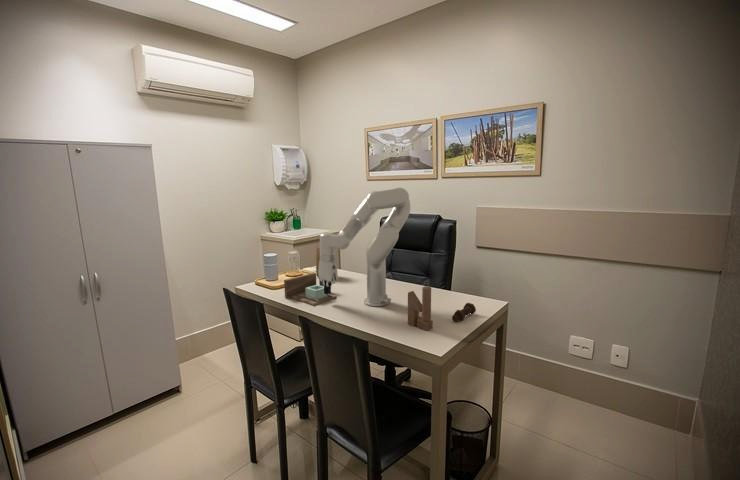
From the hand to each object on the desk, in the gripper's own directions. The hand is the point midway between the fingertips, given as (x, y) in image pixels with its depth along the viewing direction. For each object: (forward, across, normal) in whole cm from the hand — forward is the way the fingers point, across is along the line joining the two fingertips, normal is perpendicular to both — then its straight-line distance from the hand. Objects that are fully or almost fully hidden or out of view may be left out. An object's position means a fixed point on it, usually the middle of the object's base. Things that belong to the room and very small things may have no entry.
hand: (327, 293), depth 181 cm
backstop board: (+5, +14, -1) cm, 15 cm away
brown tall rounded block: (+6, +39, -33) cm, 51 cm away
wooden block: (+4, -53, -6) cm, 53 cm away
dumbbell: (+4, -62, -26) cm, 67 cm away
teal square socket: (+4, +9, -1) cm, 10 cm away
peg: (+5, +17, -12) cm, 21 cm away
